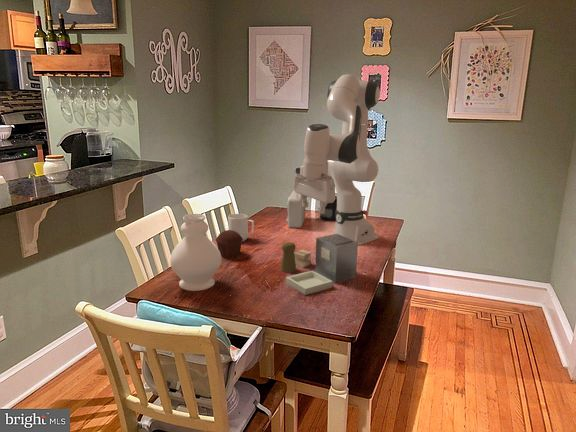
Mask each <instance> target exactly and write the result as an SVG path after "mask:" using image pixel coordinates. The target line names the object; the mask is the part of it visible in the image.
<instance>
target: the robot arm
mask: <svg viewBox="0 0 576 432" xmlns="http://www.w3.org/2000/svg"><path fill="white" fill-rule="evenodd" d="M379 85H380V84H378V83H377V82H376V81H372V80H362V79H359V78H357V76H355V75H353V74H350V73H346V74H342V75H341V76H340V77H338V79H337V80H333V81H331V82H330V83H329V85H328V86H327V90H326V96H327V101H326V108H327V110H328V112H329V113H330V114H331V116H333V118H335V119H337V120H339V121H342V124H341V125H342V126H341V133H330V127H329V125H326V124H322V123H314V124H310V125H308V126H307V127H306V132H305V136H304V144H303V152H304V159H303V160H302V161H303V162H302V165H300V166H296V167H294V172H293V173H294V178H293V191H294V190H295V192H296V193H299V194H301V200H302V207H305V209H306V208H309V202H308V198H310V199H313V200H316V201H318V202H319V207H317V213H318V214H319V215H320V214H323V213H324V208H325V207H326V205H327V203H333V202H334V201H335V196H337V209H336V216H335V217H336V220H335V223H334V231H333V234H339V235H342V236H344V237H347V238H349V239H352V240H354V241H356V242H358V246H362V245H365V244H368V243H370V242H372V241H375V240H378V239H379V238H380V237H379V235H378V234H377V233H375V227H374V225H373V224H372V222H370V221H368V220H367V218H366V217H364V216H367V215H368V214H369V211H368V210H364V209H362V197H363V195H362V192H361V191H360V190H359V189H358V188H357V187H356V186H355V184H354V182H358V183H369V182H373V181H374V180H375V179H377V176H378V173H379V166H378V163H377V161H376V160H375V159H374V158H373V156H372V155H371V153H370V151H369V148H368V142H367V141H368V138H367V137H368V128H369V127H368V126H369V125H368V124H369V111H370V110H371V109H372V108H373V107H375V106H376V105H377V104H378V102H379V100H380V96H381V90H380V86H379ZM320 204H321V205H320Z"/></svg>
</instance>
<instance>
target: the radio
mask: <svg viewBox="0 0 576 432" xmlns="http://www.w3.org/2000/svg"><path fill="white" fill-rule="evenodd" d="M286 204H287V205H286V211H287V212H286V213H287V217H286V219H285V222H287V226H288V228H296V229H300V228H302V227H303V224H304V221H305V218H306V208H305V207H302V200H301V194H299V193H296V192H295V190H294V189H293V191H292V192H291V194H290V195H289V196H288V198H287V202H286Z"/></svg>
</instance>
